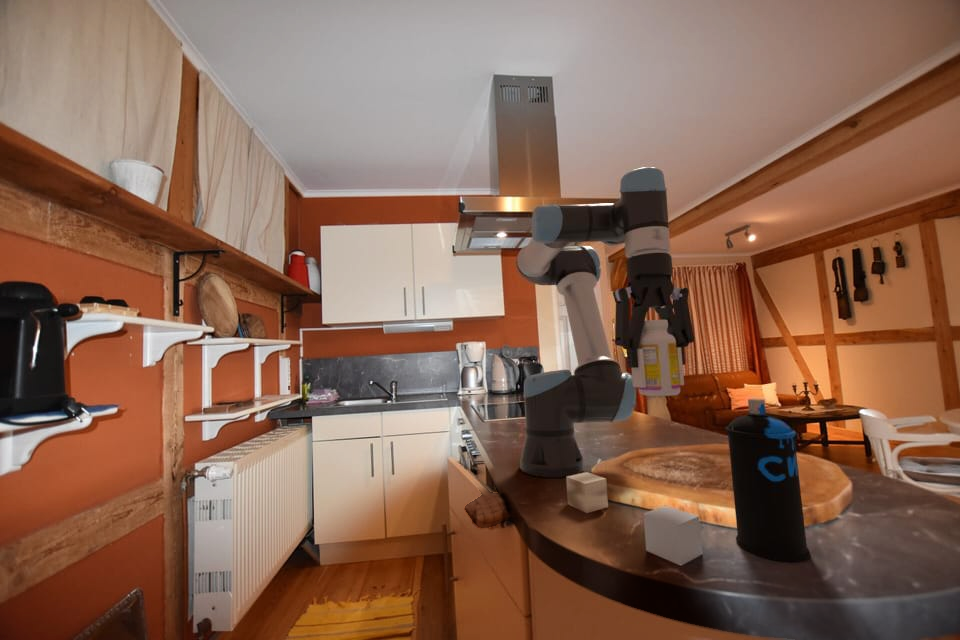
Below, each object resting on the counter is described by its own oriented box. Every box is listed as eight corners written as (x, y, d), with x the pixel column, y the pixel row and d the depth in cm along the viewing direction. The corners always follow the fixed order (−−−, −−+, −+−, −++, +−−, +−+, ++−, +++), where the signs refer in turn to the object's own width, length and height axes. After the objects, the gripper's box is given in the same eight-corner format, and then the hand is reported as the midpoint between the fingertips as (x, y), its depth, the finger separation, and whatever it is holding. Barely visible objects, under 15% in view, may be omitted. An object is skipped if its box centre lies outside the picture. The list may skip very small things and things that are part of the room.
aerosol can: (722, 540, 57) (709, 399, 59) (761, 529, 60) (747, 395, 62) (783, 568, 49) (765, 404, 51) (825, 554, 52) (807, 399, 54)
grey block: (646, 551, 55) (643, 513, 55) (667, 541, 58) (665, 505, 58) (680, 566, 51) (677, 525, 51) (702, 554, 53) (699, 516, 54)
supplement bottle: (672, 392, 72) (666, 321, 73) (687, 396, 65) (680, 318, 66) (634, 393, 73) (628, 323, 74) (645, 397, 66) (639, 320, 67)
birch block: (567, 504, 73) (566, 476, 73) (588, 499, 75) (586, 472, 76) (586, 513, 69) (584, 483, 69) (608, 507, 71) (606, 478, 71)
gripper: (608, 249, 65) (618, 390, 63) (711, 251, 69) (723, 384, 67) (587, 260, 73) (596, 387, 71) (681, 261, 77) (691, 381, 75)
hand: (658, 385), depth 69 cm, fingers closed on supplement bottle, 7 cm apart
